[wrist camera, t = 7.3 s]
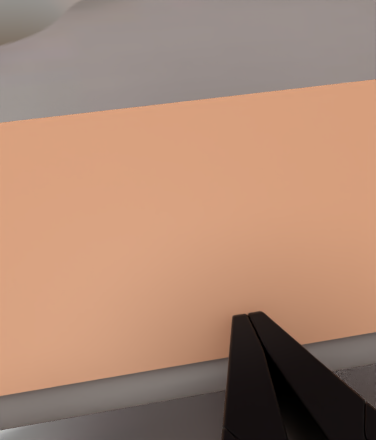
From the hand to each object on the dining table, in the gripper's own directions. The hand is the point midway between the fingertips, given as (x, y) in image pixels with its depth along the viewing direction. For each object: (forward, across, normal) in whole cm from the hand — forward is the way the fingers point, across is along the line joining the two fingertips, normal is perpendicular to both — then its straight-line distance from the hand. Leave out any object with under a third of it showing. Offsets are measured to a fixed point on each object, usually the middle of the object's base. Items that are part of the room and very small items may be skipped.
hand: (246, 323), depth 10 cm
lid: (+5, 0, 0) cm, 5 cm away
